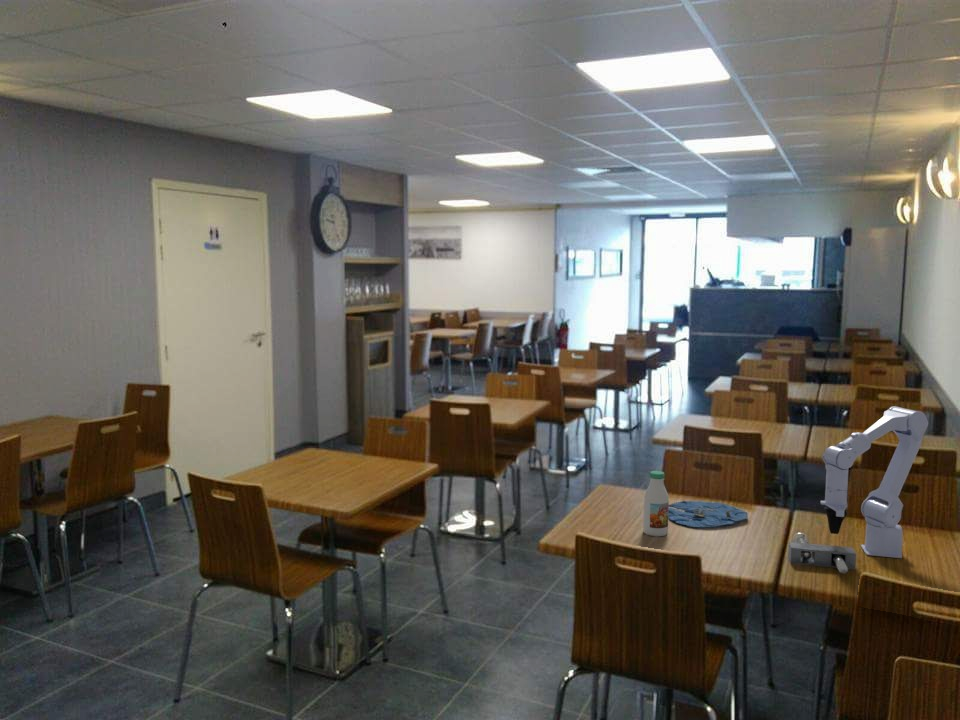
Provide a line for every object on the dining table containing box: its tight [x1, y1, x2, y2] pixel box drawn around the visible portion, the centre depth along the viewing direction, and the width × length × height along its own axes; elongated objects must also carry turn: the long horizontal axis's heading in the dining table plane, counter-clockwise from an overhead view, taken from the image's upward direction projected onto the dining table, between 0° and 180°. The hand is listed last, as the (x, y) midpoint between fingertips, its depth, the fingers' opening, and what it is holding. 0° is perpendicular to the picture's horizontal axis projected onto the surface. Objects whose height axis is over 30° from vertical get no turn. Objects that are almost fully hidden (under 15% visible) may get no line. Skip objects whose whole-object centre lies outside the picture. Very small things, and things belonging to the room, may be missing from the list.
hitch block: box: [787, 541, 857, 571], centre depth 214 cm, size 17×5×5 cm, turn 74°
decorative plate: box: [668, 500, 749, 529], centre depth 256 cm, size 30×30×5 cm
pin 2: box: [830, 544, 849, 574], centre depth 210 cm, size 13×4×4 cm, turn 164°
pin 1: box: [792, 532, 812, 559], centre depth 220 cm, size 13×4×4 cm, turn 165°
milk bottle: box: [642, 470, 670, 537], centre depth 238 cm, size 8×8×20 cm
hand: (834, 533), depth 217 cm, fingers closed
